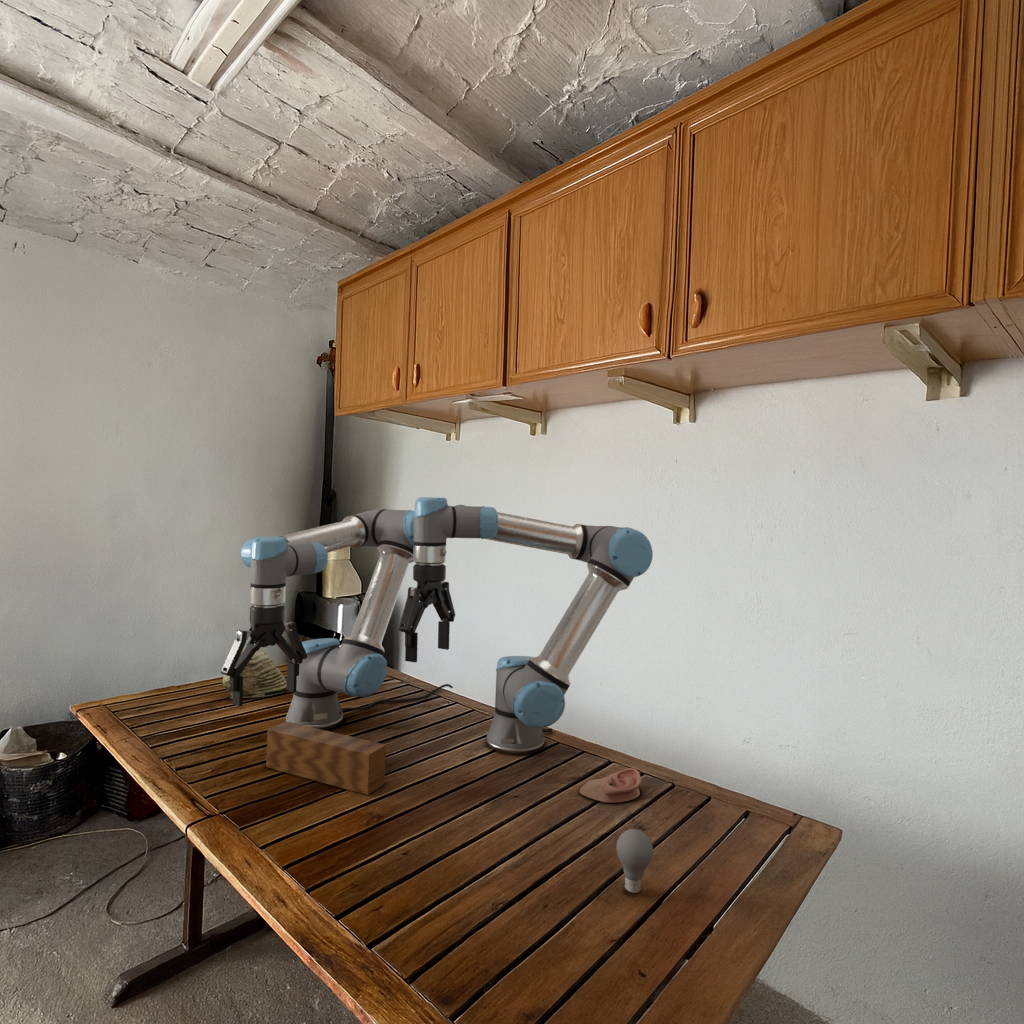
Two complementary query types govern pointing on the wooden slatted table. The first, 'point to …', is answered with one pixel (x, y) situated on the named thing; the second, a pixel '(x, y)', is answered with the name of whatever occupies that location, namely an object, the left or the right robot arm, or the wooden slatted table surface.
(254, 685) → the fossil
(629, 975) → the wooden slatted table surface
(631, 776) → the anatomical model
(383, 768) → the box
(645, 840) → the light bulb
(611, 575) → the right robot arm
